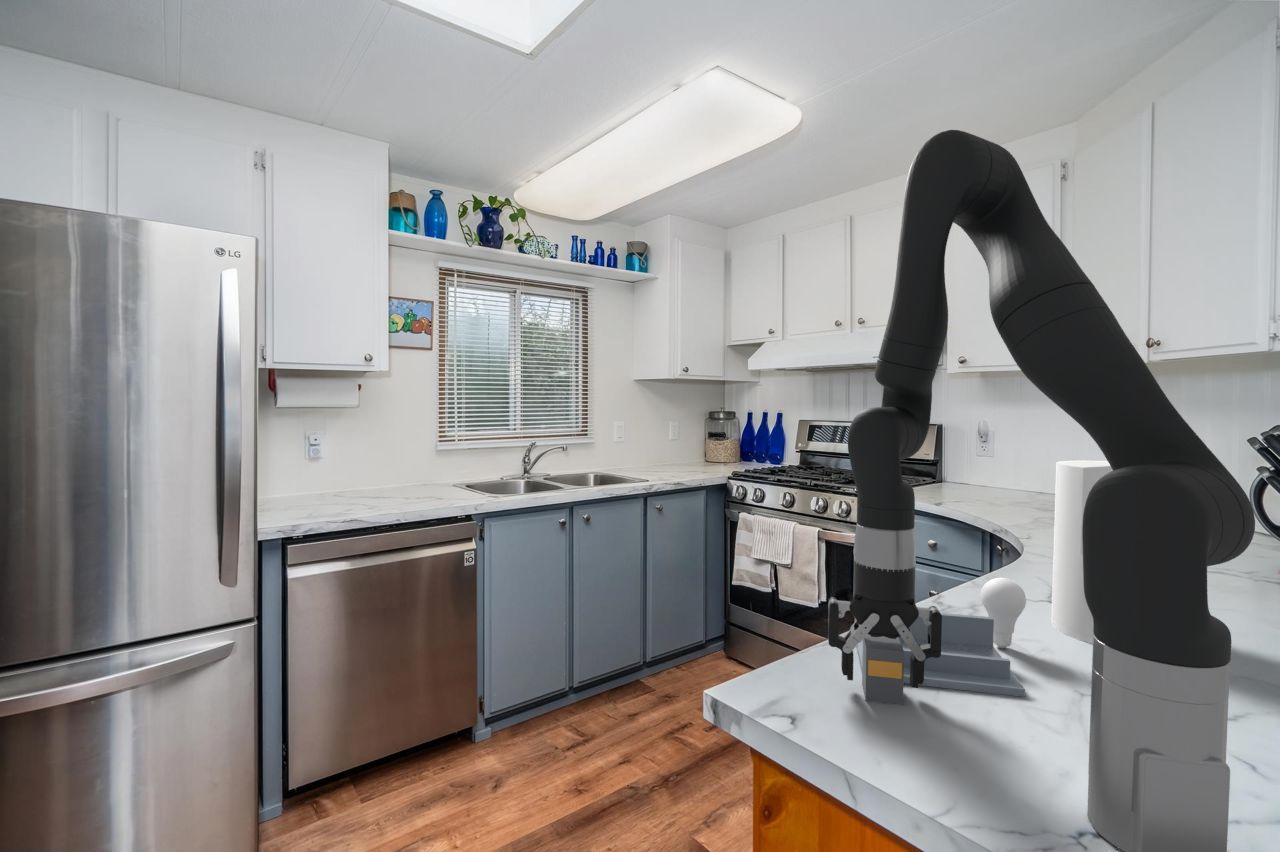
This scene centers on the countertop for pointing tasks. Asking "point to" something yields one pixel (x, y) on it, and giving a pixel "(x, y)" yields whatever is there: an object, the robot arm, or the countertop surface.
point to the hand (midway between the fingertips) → (881, 681)
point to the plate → (961, 648)
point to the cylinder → (1072, 546)
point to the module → (883, 670)
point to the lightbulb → (1003, 607)
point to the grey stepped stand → (962, 658)
